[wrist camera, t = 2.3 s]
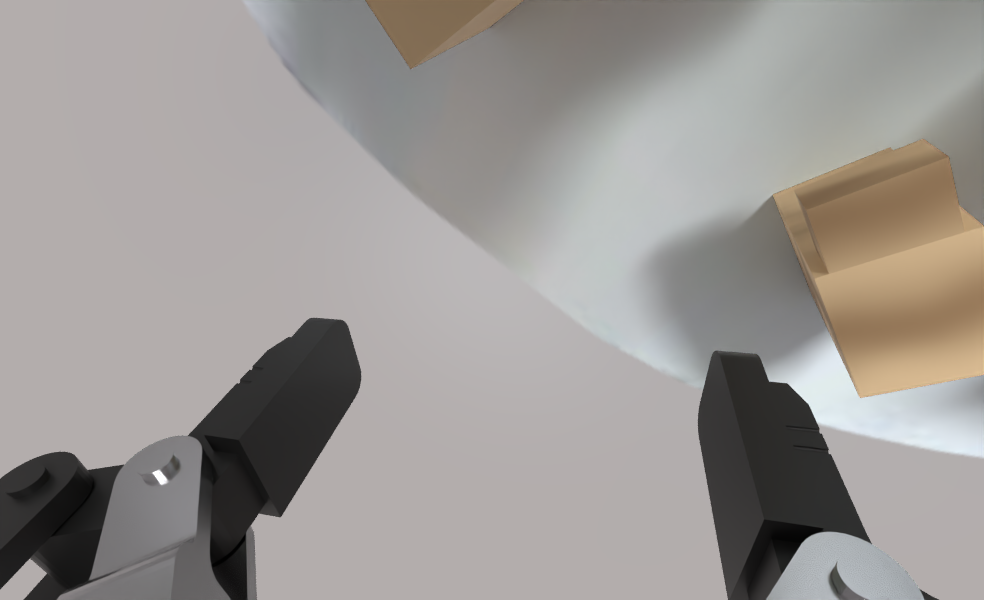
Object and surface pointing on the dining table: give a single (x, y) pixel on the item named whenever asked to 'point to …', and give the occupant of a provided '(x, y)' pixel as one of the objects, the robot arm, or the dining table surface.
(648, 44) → the dining table surface
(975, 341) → the wall box
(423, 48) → the wall board
